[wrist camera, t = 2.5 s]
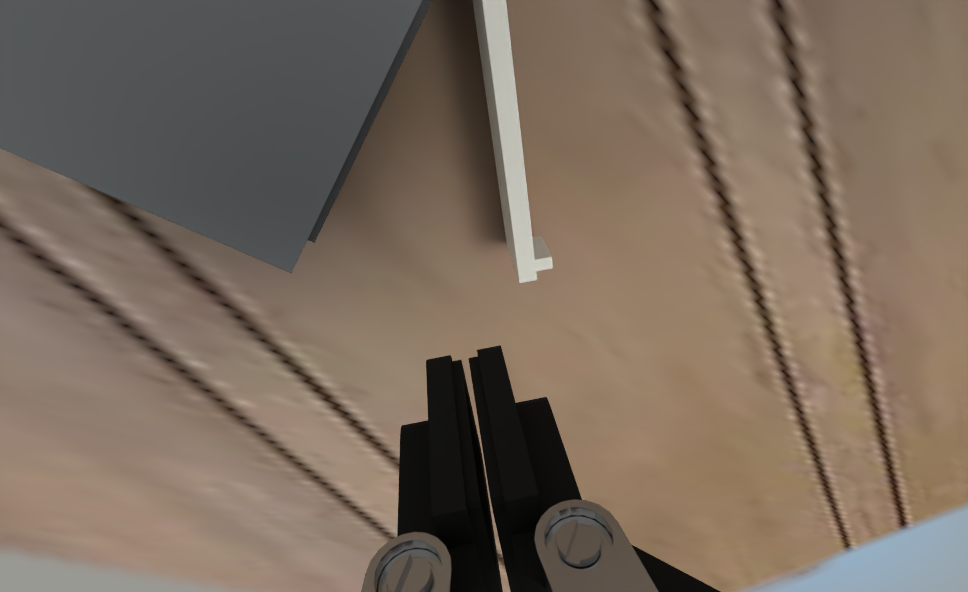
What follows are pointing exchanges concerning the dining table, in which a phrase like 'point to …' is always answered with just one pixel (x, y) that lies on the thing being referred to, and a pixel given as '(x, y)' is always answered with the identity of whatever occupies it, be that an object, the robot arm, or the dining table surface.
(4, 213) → the dining table surface
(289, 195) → the gray button box
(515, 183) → the light grey flat bar
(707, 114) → the dining table surface
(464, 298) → the dining table surface
